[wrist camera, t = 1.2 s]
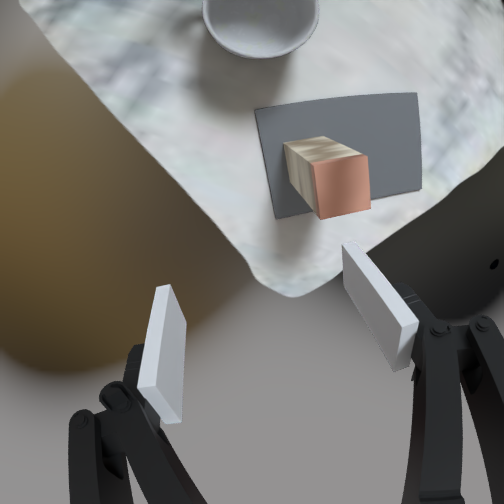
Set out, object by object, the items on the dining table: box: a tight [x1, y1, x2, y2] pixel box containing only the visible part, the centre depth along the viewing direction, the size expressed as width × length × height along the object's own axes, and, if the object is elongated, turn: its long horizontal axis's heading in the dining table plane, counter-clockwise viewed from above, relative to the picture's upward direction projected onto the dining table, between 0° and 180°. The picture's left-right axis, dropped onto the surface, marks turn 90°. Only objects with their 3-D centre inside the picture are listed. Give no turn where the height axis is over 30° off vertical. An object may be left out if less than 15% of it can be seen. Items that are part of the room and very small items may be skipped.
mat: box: [255, 93, 422, 219], centre depth 37 cm, size 22×14×1 cm, turn 101°
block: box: [283, 136, 371, 220], centre depth 31 cm, size 5×5×12 cm
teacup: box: [202, 0, 319, 59], centre depth 24 cm, size 14×11×8 cm
